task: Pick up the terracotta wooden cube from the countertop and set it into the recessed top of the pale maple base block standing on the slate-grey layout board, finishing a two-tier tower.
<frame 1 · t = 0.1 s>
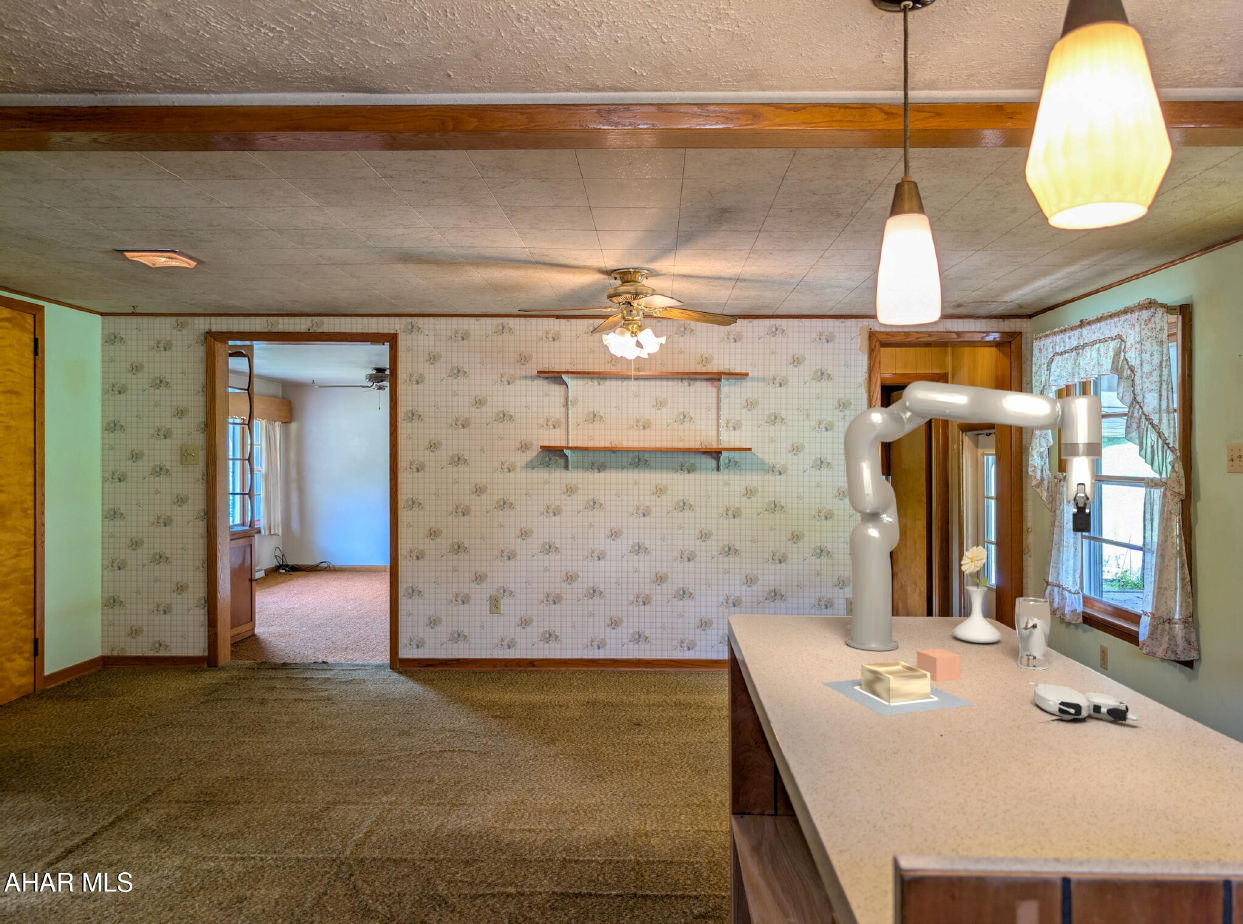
hand: (1081, 530, 158), 31 cm above the kitchen counter, tool pointing down, fingers open, 9 cm apart
layout board: (895, 698, 141), on the kitchen counter
maple base: (895, 693, 141), point 1 cm above the kitchen counter, touching layout board
robot toy: (1081, 718, 131), on the kitchen counter
flower in vase: (977, 642, 186), on the kitchen counter
beer glass: (1032, 667, 163), on the kitchen counter
terracotta cube: (938, 681, 153), on the kitchen counter
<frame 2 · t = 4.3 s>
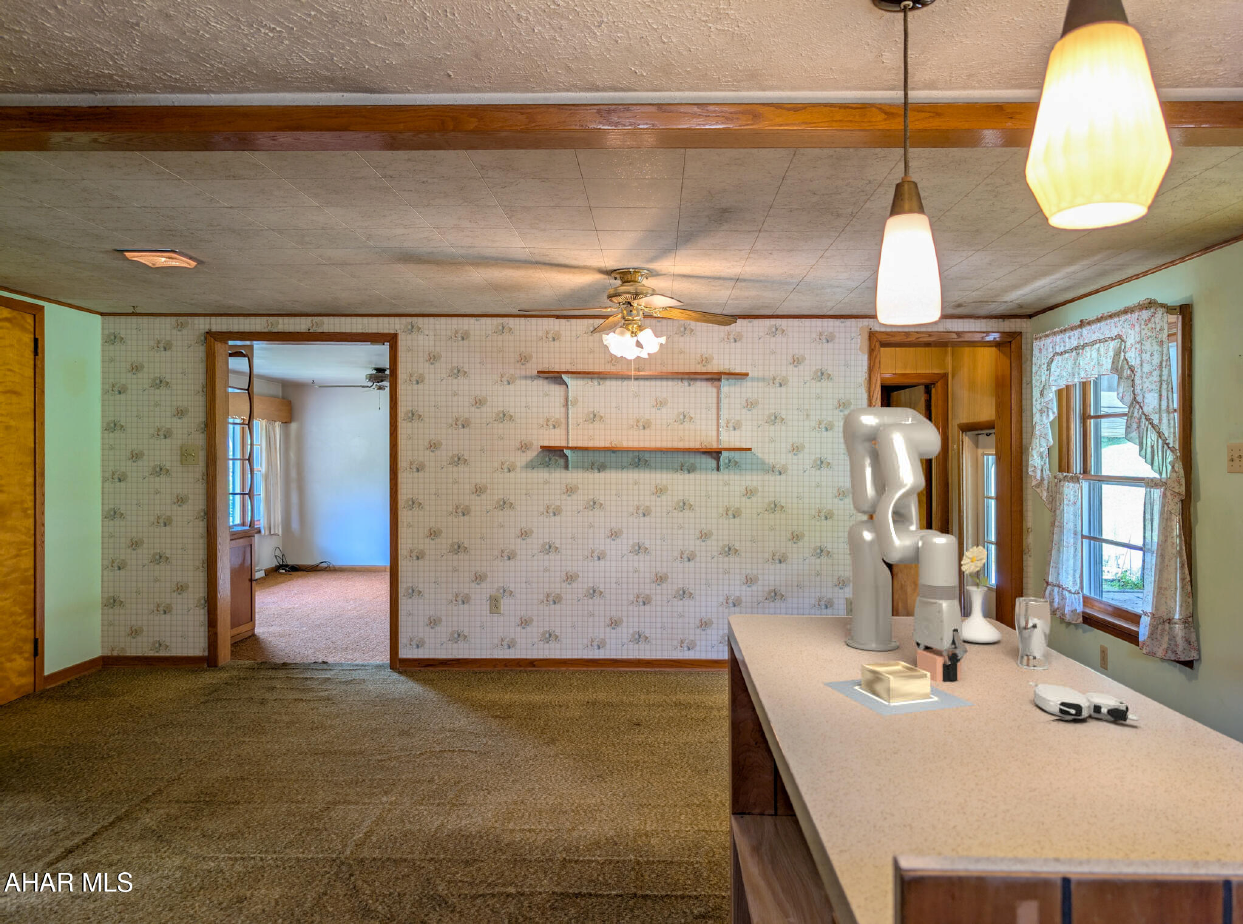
hand: (938, 676, 153), 1 cm above the kitchen counter, tool pointing down, fingers closed on terracotta cube, 6 cm apart
terracotta cube: (938, 681, 153), on the kitchen counter, touching gripper
everything else where it was.
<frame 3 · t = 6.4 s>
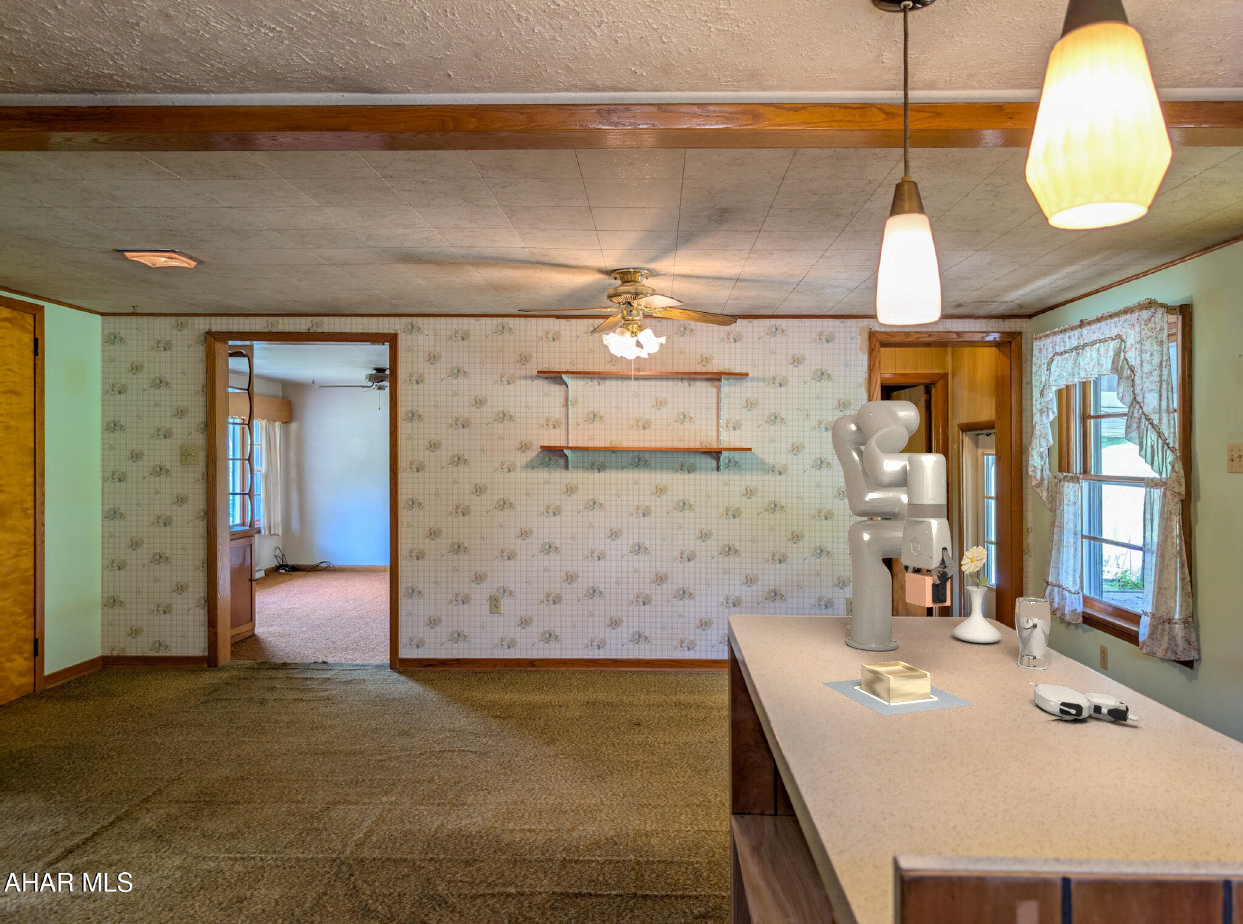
hand: (927, 599, 149), 18 cm above the kitchen counter, tool pointing down, fingers closed on terracotta cube, 6 cm apart
terracotta cube: (927, 603, 149), point 17 cm above the kitchen counter, touching gripper
everything else where it was.
when the fingers open (7 cm above the kitchen counter, at t = 8.9 s): terracotta cube drops 1 cm, resting on maple base.
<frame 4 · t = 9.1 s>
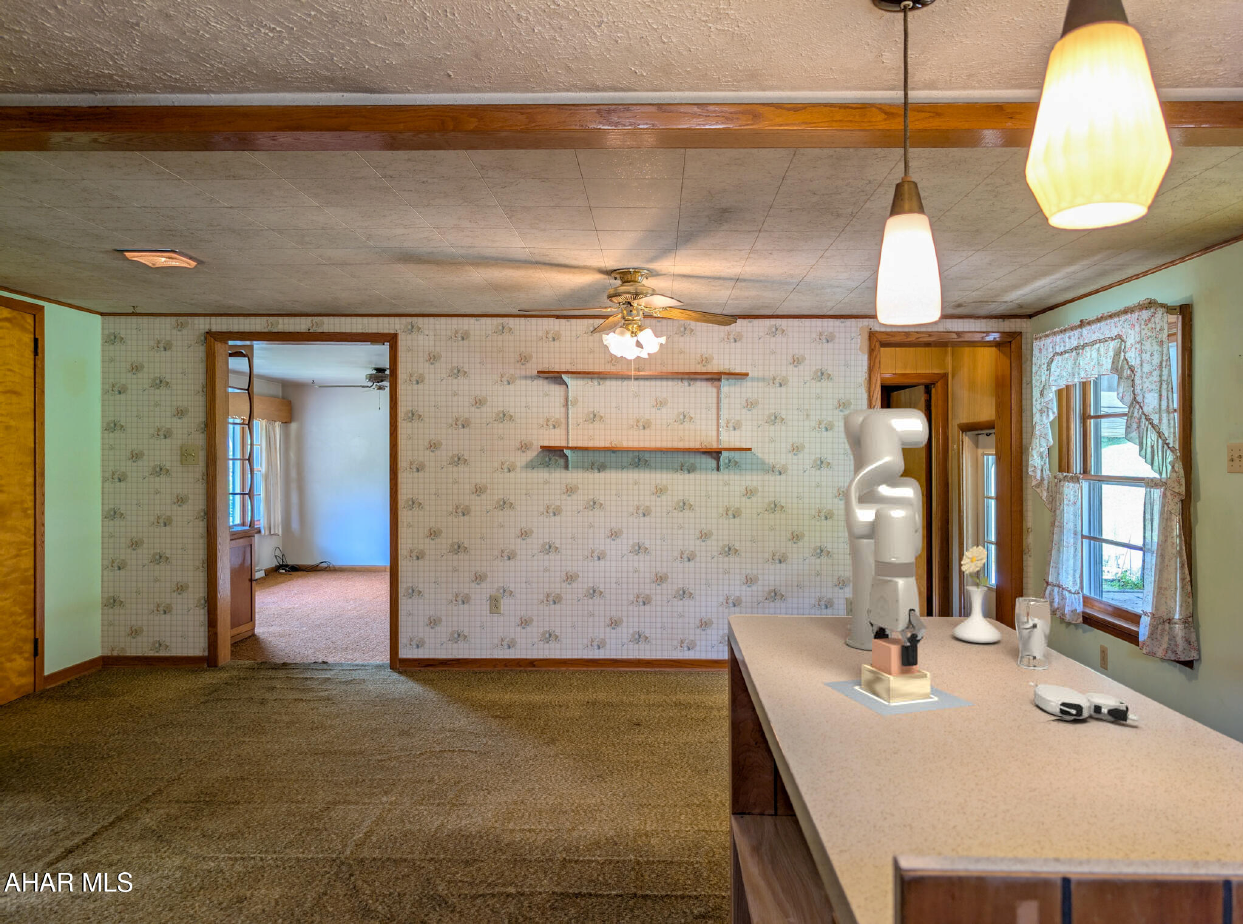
hand: (895, 659, 141), 8 cm above the kitchen counter, tool pointing down, fingers open, 8 cm apart
maple base: (895, 693, 141), point 1 cm above the kitchen counter, touching layout board, terracotta cube
terracotta cube: (894, 672, 142), point 5 cm above the kitchen counter, touching maple base
everything else where it was.
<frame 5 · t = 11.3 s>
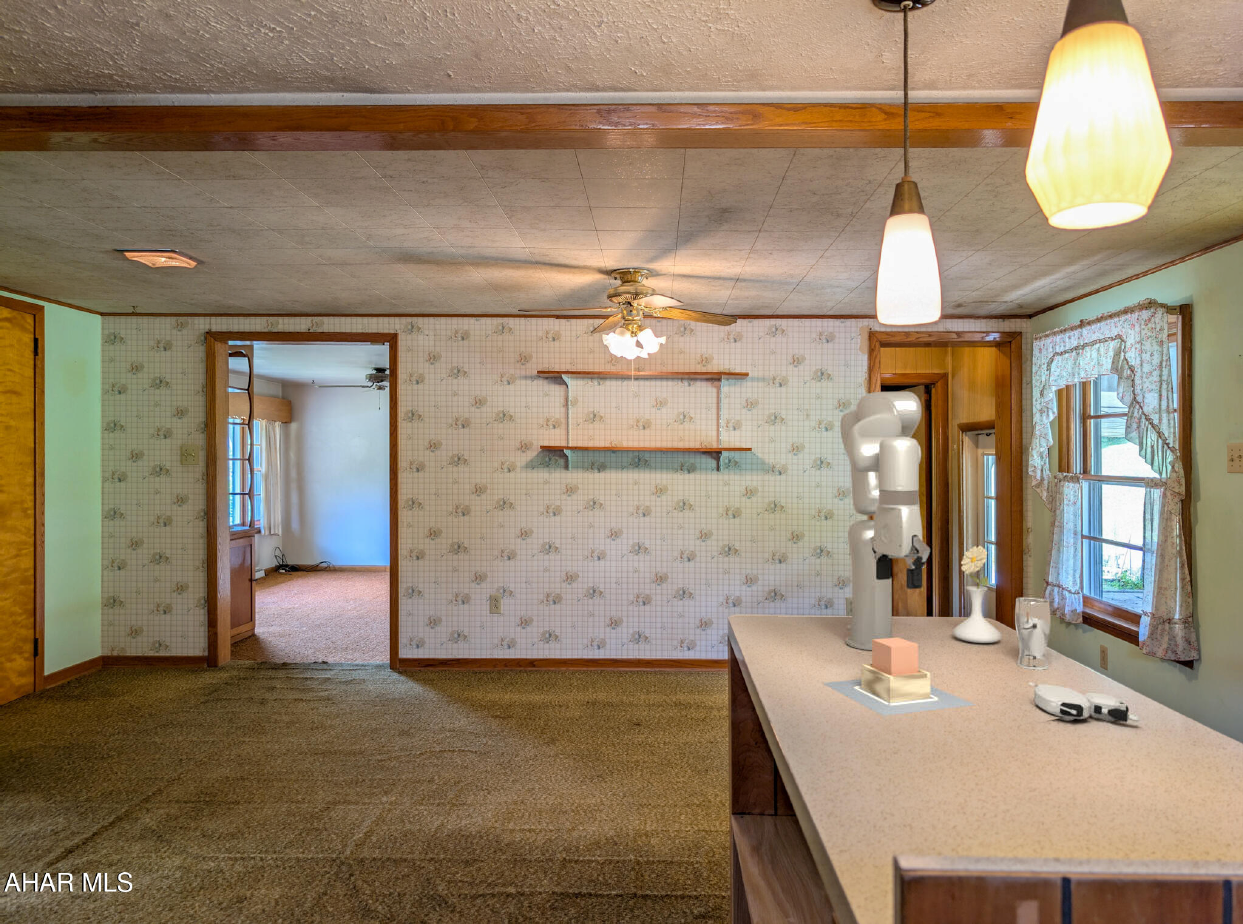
hand: (898, 583, 146), 22 cm above the kitchen counter, tool pointing down, fingers open, 9 cm apart
nothing on the kitchen counter moved.
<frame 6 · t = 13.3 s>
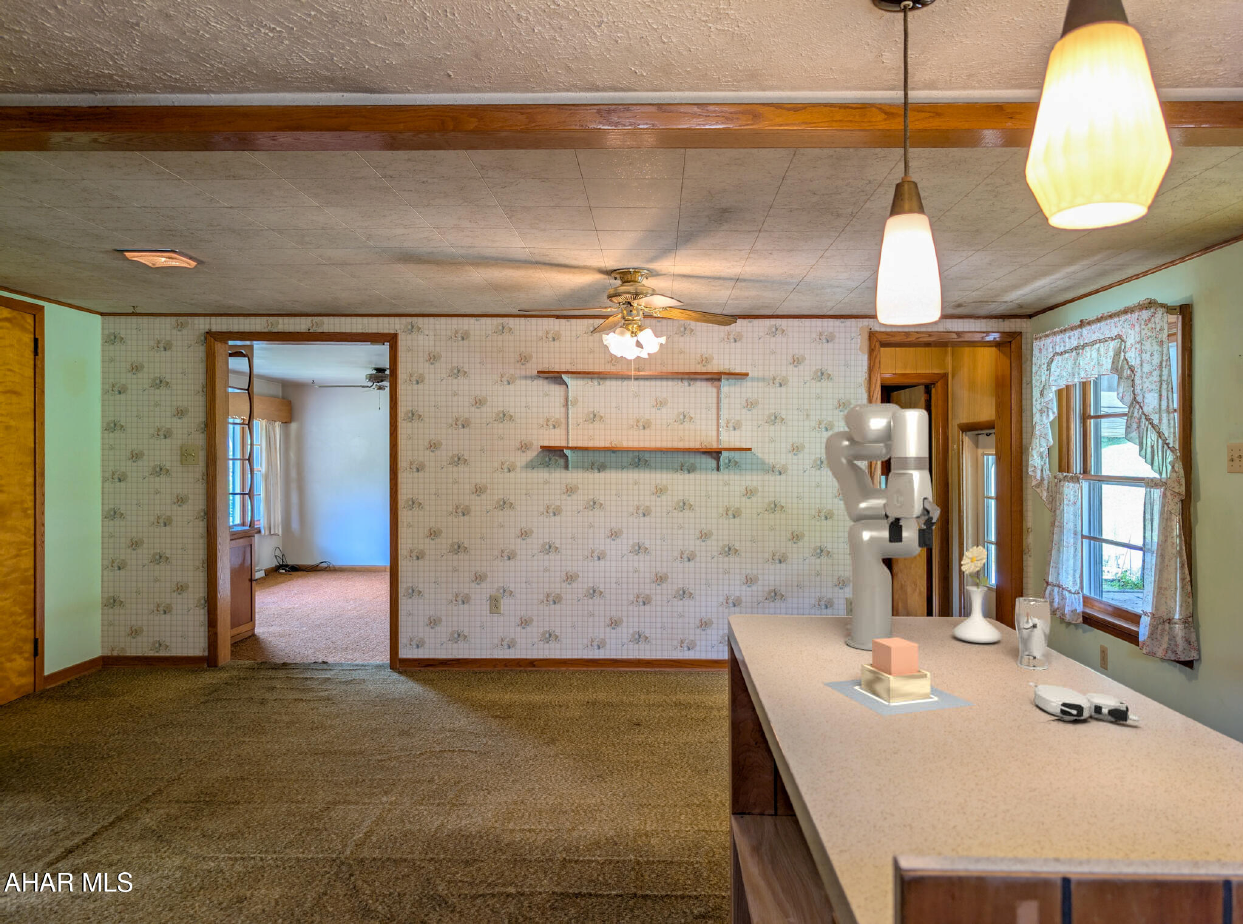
hand: (910, 544, 157), 28 cm above the kitchen counter, tool pointing down, fingers open, 9 cm apart
nothing on the kitchen counter moved.
at the end: terracotta cube 0.1 cm off-centre on the maple base, point 4.0 cm above the maple base's base; terracotta cube tilted 0°; maple base moved 0.0 cm from its start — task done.
